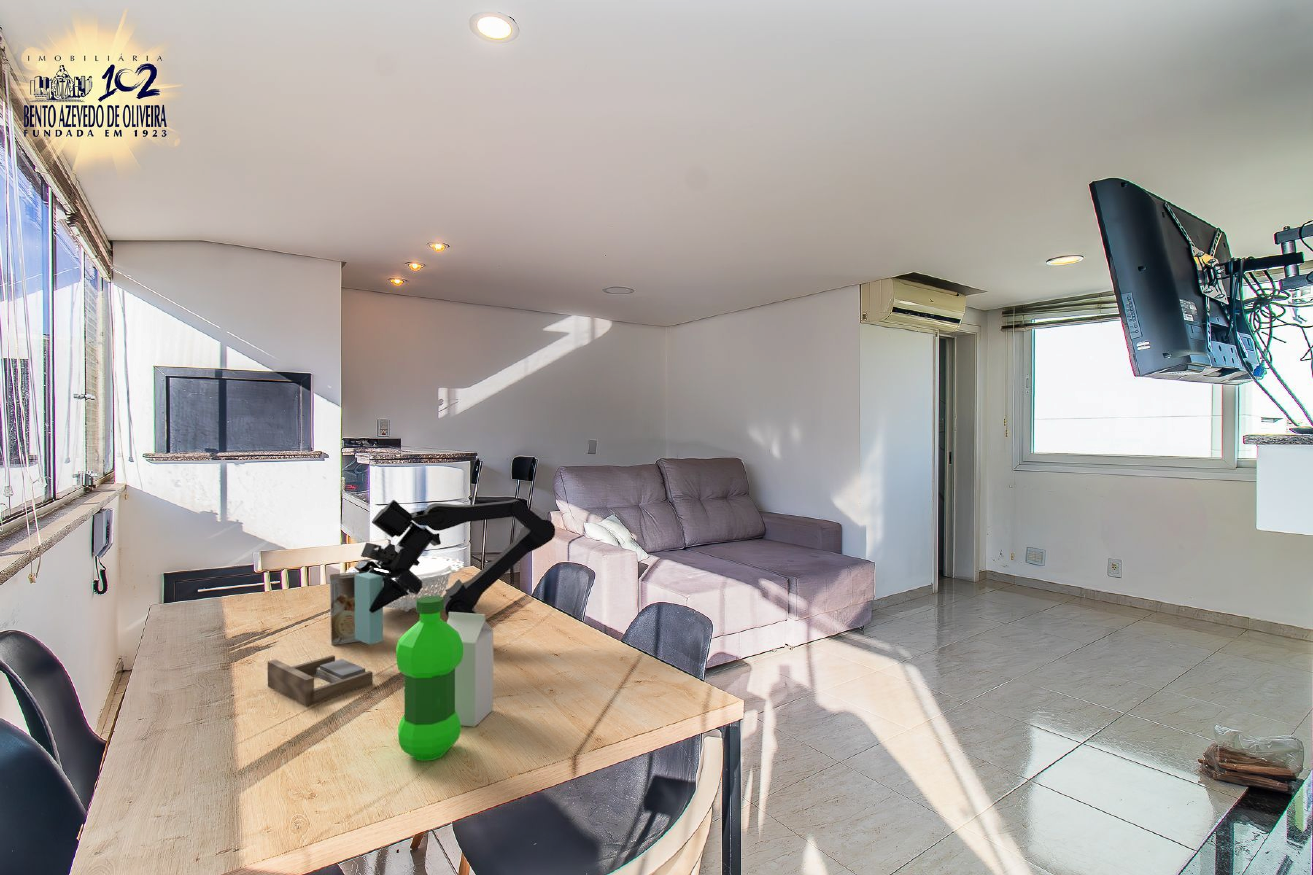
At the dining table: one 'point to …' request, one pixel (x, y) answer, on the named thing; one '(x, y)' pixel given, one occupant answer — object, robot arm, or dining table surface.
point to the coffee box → (342, 608)
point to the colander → (426, 578)
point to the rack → (311, 681)
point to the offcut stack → (338, 670)
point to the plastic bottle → (429, 683)
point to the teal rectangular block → (365, 621)
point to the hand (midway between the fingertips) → (362, 609)
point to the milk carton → (473, 668)
